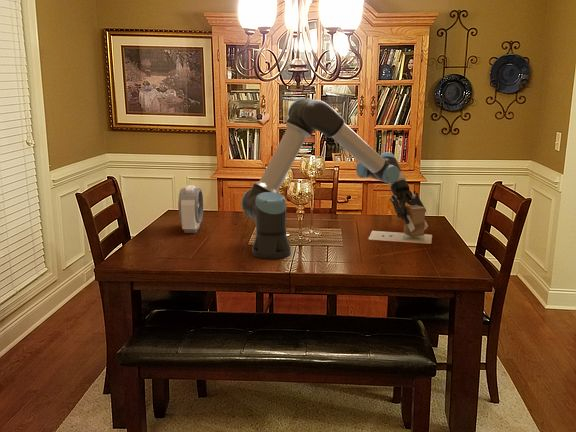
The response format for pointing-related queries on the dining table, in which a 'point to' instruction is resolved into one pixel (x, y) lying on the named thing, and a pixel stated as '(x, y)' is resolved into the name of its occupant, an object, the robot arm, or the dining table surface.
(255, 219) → the robot arm
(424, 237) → the board
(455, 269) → the dining table surface
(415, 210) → the walnut block
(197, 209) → the alarm clock
